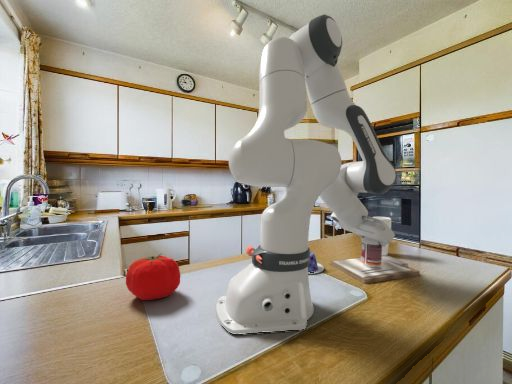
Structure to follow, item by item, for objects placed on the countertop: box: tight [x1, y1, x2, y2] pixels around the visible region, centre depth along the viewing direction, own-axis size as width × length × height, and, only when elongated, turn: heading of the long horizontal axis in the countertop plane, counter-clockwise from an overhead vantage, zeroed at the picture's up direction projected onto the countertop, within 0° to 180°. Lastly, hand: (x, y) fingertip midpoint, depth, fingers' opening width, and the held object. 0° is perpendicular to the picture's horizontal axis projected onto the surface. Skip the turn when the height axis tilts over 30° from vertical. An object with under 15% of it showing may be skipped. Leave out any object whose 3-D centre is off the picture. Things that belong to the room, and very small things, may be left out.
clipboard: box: [329, 255, 421, 284], centre depth 79 cm, size 22×16×2 cm
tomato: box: [125, 252, 181, 301], centre depth 59 cm, size 11×13×10 cm
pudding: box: [308, 251, 325, 274], centre depth 79 cm, size 12×12×5 cm
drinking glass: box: [372, 216, 392, 256], centre depth 95 cm, size 7×7×15 cm
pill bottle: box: [360, 237, 382, 268], centre depth 79 cm, size 6×6×11 cm
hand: (374, 241), depth 79 cm, fingers closed on pill bottle, 6 cm apart
